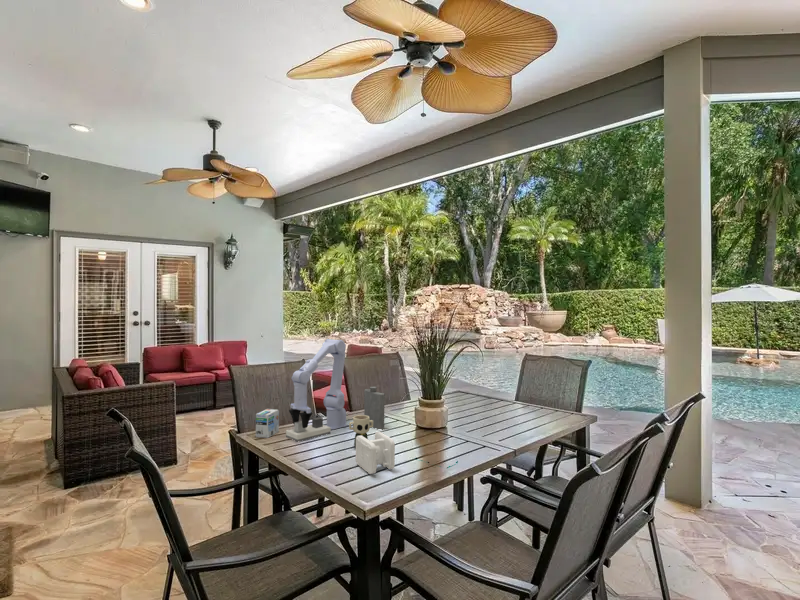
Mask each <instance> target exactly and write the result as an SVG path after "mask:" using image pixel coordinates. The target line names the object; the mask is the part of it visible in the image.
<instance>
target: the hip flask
mask: <svg viewBox="0 0 800 600" xmlns="http://www.w3.org/2000/svg"><path fill="white" fill-rule="evenodd" d="M377 388H378V387H377V386H369V388H365V389H364V396H363V397H364V398H363V399H364V400H363V401H364V402H363V403H364V407H363V411H364V412H363V413H364V414H363V415H366V416H369V418H370V419H369V420H373V428H372V429H375V428H377V429H376V430H378V429H384V430H385V401H386V400H385V393H384V392H383V393H382V392H379V391H377ZM369 426H371V422H369Z"/></svg>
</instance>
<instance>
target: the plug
mask: <svg viewBox="0 0 800 600" xmlns="http://www.w3.org/2000/svg"><path fill="white" fill-rule="evenodd" d="M293 429H294V432H296V433H301V432H305V431H306V428H303V427H302V420H299V422H295V425H294V427H293Z"/></svg>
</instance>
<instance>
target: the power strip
mask: <svg viewBox="0 0 800 600" xmlns="http://www.w3.org/2000/svg"><path fill="white" fill-rule="evenodd" d="M325 425H326V424H323V427H319V428H314V427H312V424H308V427H307V428H306V431H305V432H301V433H296V432H294V428H292V429H286V430H285V437H286V438H287V437H288V438H287V439H289V438H291V439H290V440H292V439H293V440H292V441H294V440H295V441H294V442H297V443H299V442H298V441H300V442H303V441H307V440H310V438H311V439H315V438H319V437H322V436H321V435H323V436H327V435H330V434H331V430H332V429H331V427H328V426H325ZM326 434H327V435H326ZM318 436H319V437H318ZM314 437H315V438H314ZM306 439H307V440H306ZM302 440H303V441H302Z"/></svg>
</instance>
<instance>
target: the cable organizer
mask: <svg viewBox="0 0 800 600" xmlns="http://www.w3.org/2000/svg"><path fill="white" fill-rule="evenodd" d="M395 444H396V443H395V440H394V439H393V438H391V437H390V436H388V435H386V434H384V433H383V432H381V431H377V432H375V434H374V439H372V440H371V439H370V440H369V439H366V438H365V437H363V436H362V435H360V436H357V437H356V447H355V462H356V463H357V465H358V466H359V467H360V468H361V467H362V468H361V469H363V470H364V471H365V472H366V471H367V472H368V474H369V475H373V474H376V473H377V469H378V465H382V468H386V467H387V468H388V469H391V470H392V469H395V465H396V464H395V461H396V460H395V459H396V458H395V457H396V454H395V452H396V451H395V450H396V449H395V448H396V447H395V446H396V445H395ZM387 468H386V469H387ZM388 469H387V470H388ZM367 472H366V473H367Z"/></svg>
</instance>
